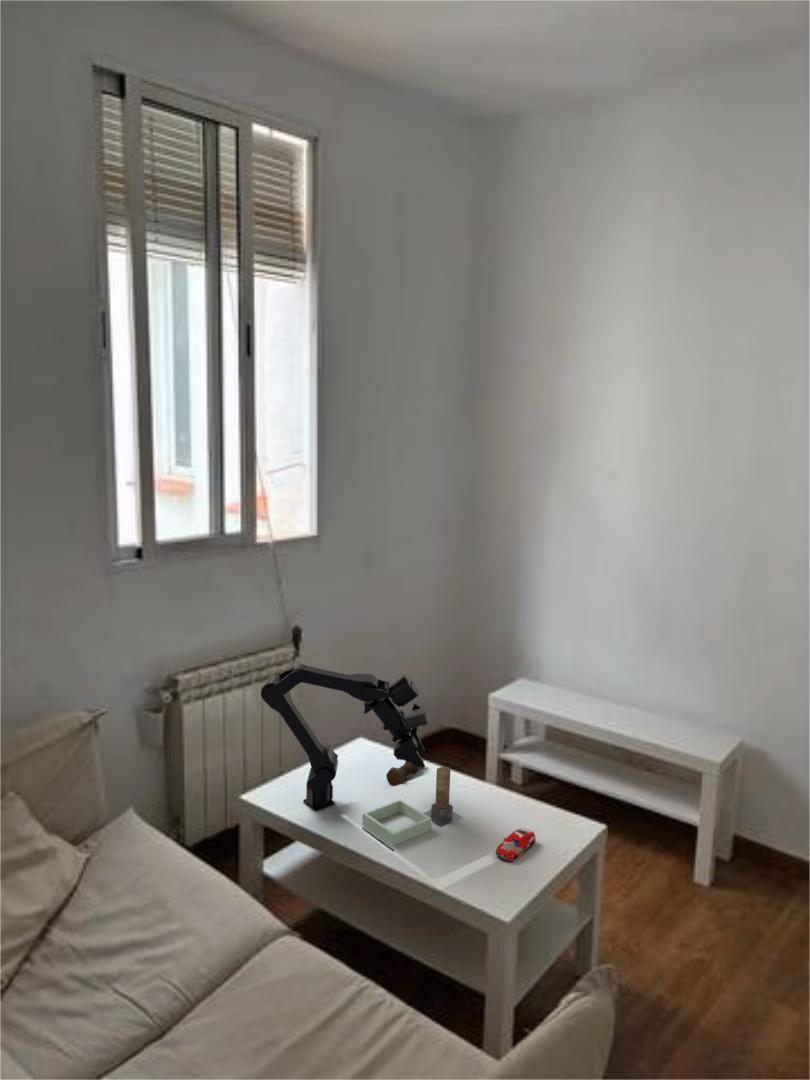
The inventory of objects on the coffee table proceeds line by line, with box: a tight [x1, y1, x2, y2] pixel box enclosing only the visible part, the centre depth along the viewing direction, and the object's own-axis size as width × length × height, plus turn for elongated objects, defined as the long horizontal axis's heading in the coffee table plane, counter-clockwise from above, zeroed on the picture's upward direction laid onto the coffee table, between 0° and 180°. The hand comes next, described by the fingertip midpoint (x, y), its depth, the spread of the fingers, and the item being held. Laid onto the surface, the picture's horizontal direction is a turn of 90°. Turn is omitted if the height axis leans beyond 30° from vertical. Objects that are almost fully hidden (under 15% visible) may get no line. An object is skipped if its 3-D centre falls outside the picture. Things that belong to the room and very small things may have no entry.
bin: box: [361, 798, 432, 852], centre depth 205 cm, size 13×13×4 cm
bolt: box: [385, 757, 425, 787], centre depth 235 cm, size 6×5×15 cm
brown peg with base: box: [430, 766, 454, 821], centre depth 210 cm, size 4×4×13 cm
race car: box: [495, 827, 536, 862], centre depth 199 cm, size 13×5×4 cm, turn 139°
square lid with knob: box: [422, 809, 464, 828], centre depth 211 cm, size 8×8×4 cm
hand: (423, 759), depth 216 cm, fingers open, 9 cm apart
